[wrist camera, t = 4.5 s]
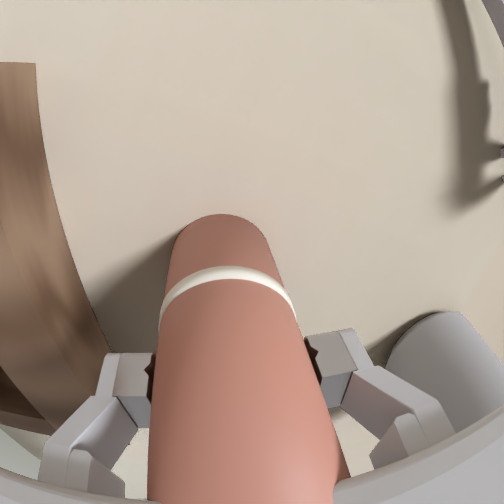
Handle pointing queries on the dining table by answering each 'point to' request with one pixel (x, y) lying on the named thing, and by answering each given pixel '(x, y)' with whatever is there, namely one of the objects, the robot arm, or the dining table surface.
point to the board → (38, 278)
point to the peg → (235, 381)
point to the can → (450, 367)
